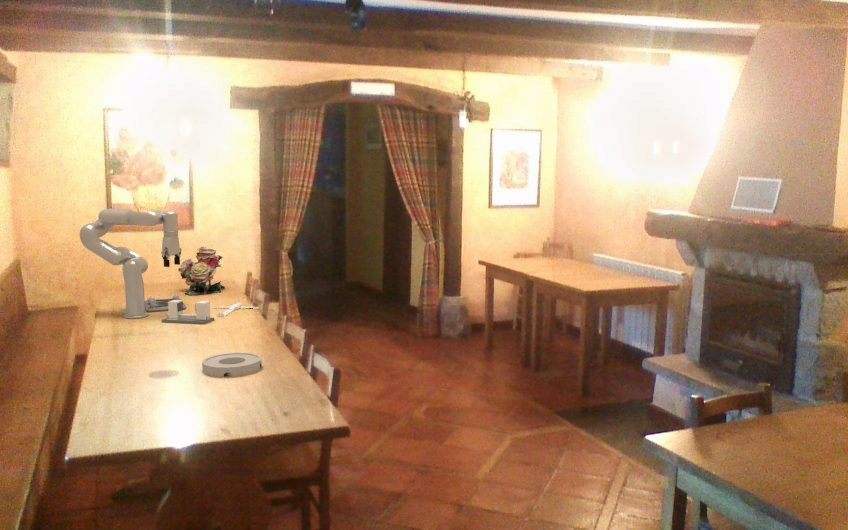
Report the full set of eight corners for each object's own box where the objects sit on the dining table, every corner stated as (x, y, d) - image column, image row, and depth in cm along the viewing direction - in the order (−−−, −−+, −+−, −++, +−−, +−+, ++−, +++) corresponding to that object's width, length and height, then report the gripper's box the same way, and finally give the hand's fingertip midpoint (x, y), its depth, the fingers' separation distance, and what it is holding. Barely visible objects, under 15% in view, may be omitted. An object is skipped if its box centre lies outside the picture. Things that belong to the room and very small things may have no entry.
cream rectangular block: (168, 318, 380) (167, 301, 379) (174, 316, 386) (173, 299, 385) (178, 318, 379) (177, 302, 378) (184, 316, 384) (183, 300, 383)
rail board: (161, 322, 379) (160, 302, 378) (172, 318, 389) (171, 298, 387) (204, 324, 374) (203, 304, 372) (214, 320, 383) (213, 300, 382)
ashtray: (239, 358, 308) (239, 349, 307) (273, 368, 293) (273, 358, 292) (191, 370, 290) (190, 360, 290) (224, 381, 275) (224, 371, 275)
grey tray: (186, 310, 414) (185, 298, 413) (146, 313, 405) (145, 301, 404) (181, 301, 441) (180, 290, 440) (143, 304, 432) (143, 292, 431)
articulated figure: (196, 312, 392) (217, 300, 421) (196, 319, 393) (217, 306, 422) (244, 313, 389) (262, 300, 419) (245, 320, 390) (262, 307, 420)
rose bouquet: (179, 290, 477) (177, 245, 473) (225, 288, 486) (223, 243, 482) (179, 297, 453) (176, 249, 449) (227, 294, 462) (225, 247, 458)
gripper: (174, 232, 398) (175, 263, 401) (155, 235, 382) (156, 267, 384) (186, 233, 397) (187, 264, 399) (167, 236, 380) (168, 268, 382)
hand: (172, 265), depth 392 cm, fingers open, 9 cm apart
